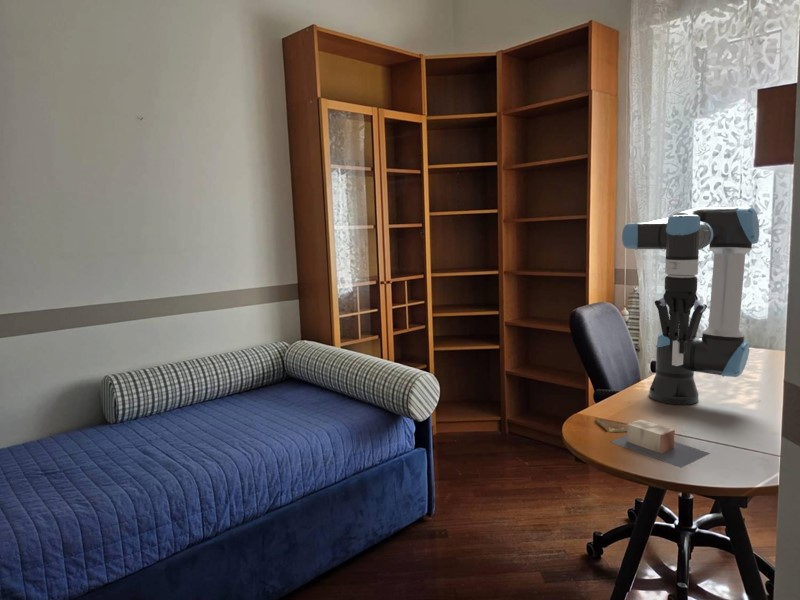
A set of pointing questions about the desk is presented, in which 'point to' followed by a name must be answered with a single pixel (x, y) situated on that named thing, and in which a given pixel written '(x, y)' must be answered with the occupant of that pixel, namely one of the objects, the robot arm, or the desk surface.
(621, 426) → the shard
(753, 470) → the desk surface
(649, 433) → the birch block
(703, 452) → the rubber mat
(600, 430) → the desk surface
